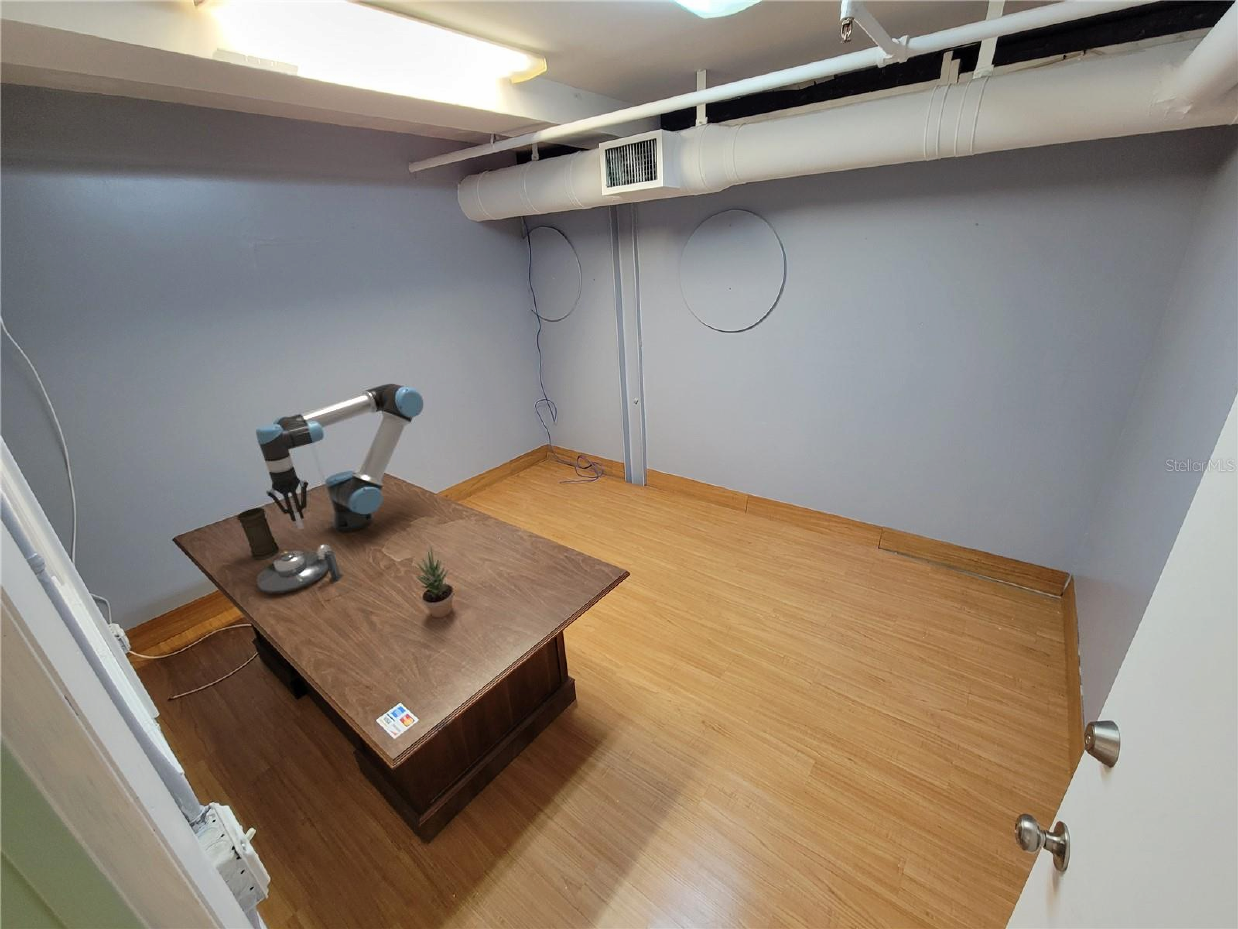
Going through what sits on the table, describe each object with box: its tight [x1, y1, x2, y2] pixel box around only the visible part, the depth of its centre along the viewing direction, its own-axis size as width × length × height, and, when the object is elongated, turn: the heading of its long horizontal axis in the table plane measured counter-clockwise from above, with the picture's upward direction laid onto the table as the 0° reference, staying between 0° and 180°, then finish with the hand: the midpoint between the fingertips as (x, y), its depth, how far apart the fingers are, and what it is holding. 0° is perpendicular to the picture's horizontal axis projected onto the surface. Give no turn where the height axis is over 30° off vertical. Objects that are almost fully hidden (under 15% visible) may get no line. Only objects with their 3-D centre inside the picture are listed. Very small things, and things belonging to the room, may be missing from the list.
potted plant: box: [415, 544, 455, 618], centre depth 153 cm, size 10×10×25 cm
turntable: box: [256, 549, 329, 595], centre depth 176 cm, size 22×22×5 cm
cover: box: [272, 550, 307, 578], centre depth 175 cm, size 9×9×6 cm
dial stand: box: [316, 544, 344, 582], centre depth 174 cm, size 4×5×14 cm
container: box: [237, 507, 280, 560], centre depth 190 cm, size 9×9×18 cm
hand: (300, 527), depth 182 cm, fingers closed
